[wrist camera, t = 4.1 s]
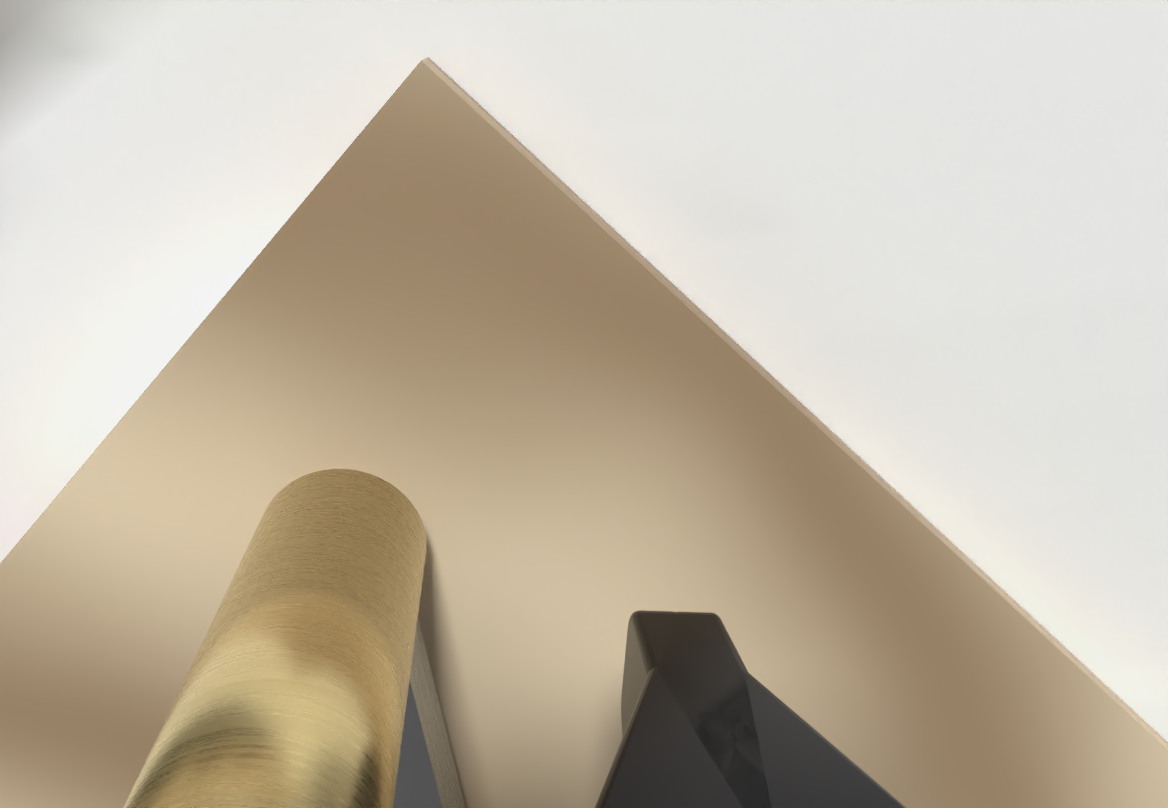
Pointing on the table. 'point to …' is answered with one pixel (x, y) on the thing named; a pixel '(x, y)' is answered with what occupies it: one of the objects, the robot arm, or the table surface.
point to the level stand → (529, 509)
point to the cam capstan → (313, 667)
